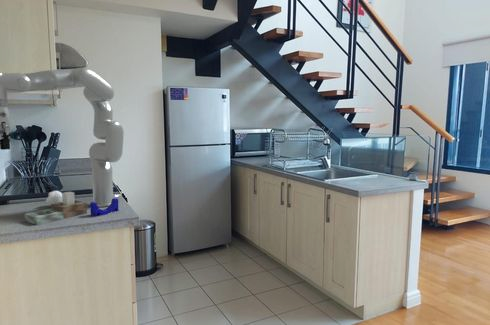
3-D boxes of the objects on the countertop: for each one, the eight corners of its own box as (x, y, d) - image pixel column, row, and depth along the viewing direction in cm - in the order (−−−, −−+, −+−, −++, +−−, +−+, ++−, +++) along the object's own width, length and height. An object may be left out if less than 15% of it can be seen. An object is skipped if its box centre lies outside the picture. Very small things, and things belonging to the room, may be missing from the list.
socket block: (74, 210, 164) (73, 199, 163) (86, 213, 159) (86, 202, 158) (24, 220, 145) (24, 209, 145) (37, 224, 140) (36, 212, 140)
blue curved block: (95, 217, 153) (95, 203, 152) (90, 215, 156) (90, 202, 155) (120, 211, 162) (119, 199, 162) (115, 210, 165) (114, 198, 164)
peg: (70, 212, 159) (69, 191, 158) (75, 214, 157) (74, 192, 156) (63, 214, 156) (62, 192, 155) (67, 215, 154) (66, 193, 153)
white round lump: (46, 205, 173) (45, 190, 172) (63, 203, 176) (63, 189, 175) (45, 208, 166) (44, 193, 165) (63, 207, 169) (62, 191, 168)
